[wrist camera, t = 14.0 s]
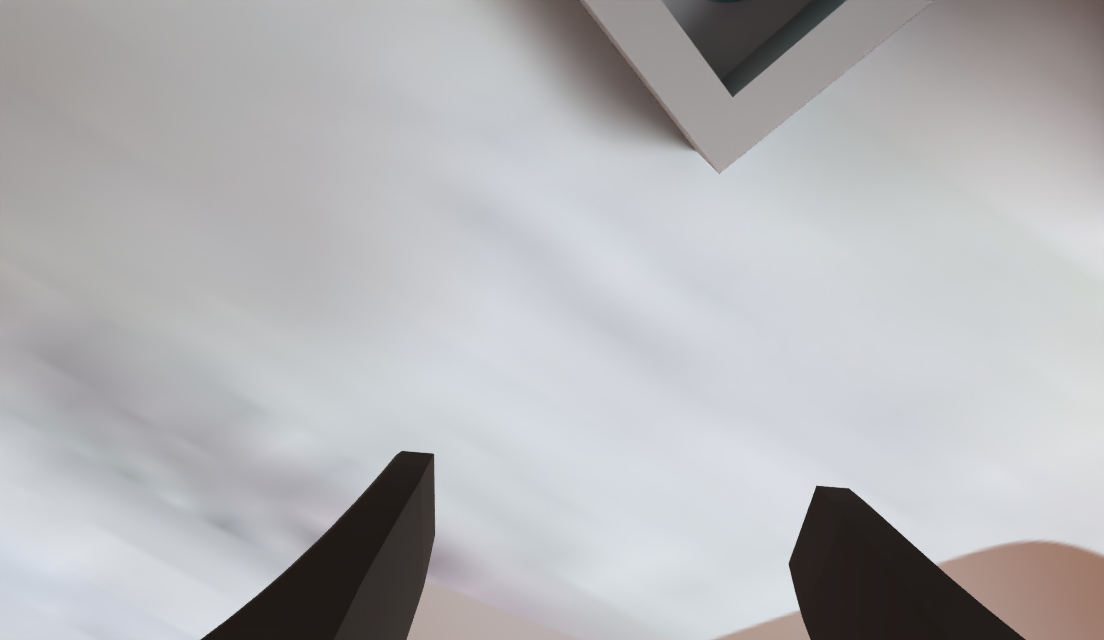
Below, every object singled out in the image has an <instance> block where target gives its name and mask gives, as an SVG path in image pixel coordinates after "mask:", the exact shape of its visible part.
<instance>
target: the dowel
mask: <svg viewBox="0 0 1104 640" xmlns="http://www.w3.org/2000/svg"><path fill="white" fill-rule="evenodd" d="M708 1H713V2H722V3H729V2H738V1H742V0H708Z"/></svg>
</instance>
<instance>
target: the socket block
mask: <svg viewBox="0 0 1104 640" xmlns="http://www.w3.org/2000/svg"><path fill="white" fill-rule="evenodd" d="M932 1H934V0H742V1H738V2H729V3H722V2H713V1H708V0H579V2H580V3H581V4H582V5H583V7H584V8H585V9H586V11H587V12H588V13H589V14H590V16H591V17H592V18H593V19H594V21H595V22H596V23H597V25H598V26H599V27H600V28H601V30H602V31H603V32H604V34H605V35H606V36H607V37H608V39H609V40H610V41H611V43H612V44H613V45H614V46H615V48H616V49H617V50H618V51H619V53H620V54H621V55H622V57H623V58H624V59H625V60H626V62H627V63H628V64H629V66H630V67H631V68H632V69H633V71H634V72H635V73H636V74H637V76H638V77H639V78H640V80H641V81H642V82H643V83H644V85H645V86H646V87H647V89H648V90H649V91H650V92H651V94H652V95H653V96H654V98H655V99H656V100H657V101H658V103H659V104H660V105H661V106H662V108H663V109H664V110H665V112H666V113H667V114H668V115H669V117H670V118H671V119H672V121H673V122H674V123H675V124H676V126H677V127H678V128H679V129H680V131H681V132H682V133H683V135H684V136H685V137H686V138H687V140H688V141H689V142H690V144H691V145H692V146H693V147H694V149H695V150H696V151H697V152H698V153H699V154H700V155H701V156H702V157H703V158H704V159H705V160H706V161H707V162H708V163H709V164H710V165H711V166H712V167H713V168H714V169H715V170H716V171H717V172H718V173H719V174H720V173H721V172H722V171H723V170H725V169H726V168H727V167H728V166H729V165H731V164H732V163H733V162H734V161H736V160H737V159H738V158H739V157H741V156H742V155H743V154H744V153H746V152H747V151H748V150H749V149H750V148H752V147H753V146H754V145H755V144H757V143H758V142H759V141H760V140H762V139H763V138H764V137H765V136H767V135H768V134H769V133H770V132H772V131H773V130H774V129H775V128H776V127H778V126H779V125H780V124H781V123H783V122H784V121H785V120H786V119H788V118H789V117H790V116H791V115H793V114H794V113H795V112H796V111H798V110H799V109H800V108H801V107H802V106H804V105H805V104H806V103H807V102H809V101H810V100H811V99H812V98H814V97H815V96H816V95H817V94H819V93H820V92H821V91H822V90H823V89H825V88H826V87H827V86H828V85H830V84H831V83H832V82H833V81H835V80H836V79H837V78H838V77H840V76H841V75H842V74H843V73H845V72H846V71H847V70H848V69H849V68H851V67H852V66H853V65H854V64H856V63H857V62H858V61H859V60H861V59H862V58H863V57H864V56H866V55H867V54H868V53H869V52H870V51H872V50H873V49H874V48H875V47H877V46H878V45H879V44H880V43H882V42H883V41H884V40H885V39H887V38H888V37H889V36H890V35H892V34H893V33H894V32H895V31H896V30H898V29H899V28H900V27H901V26H903V25H904V24H905V23H906V22H908V21H909V20H910V19H911V18H913V17H914V16H915V15H916V14H917V13H919V12H920V11H921V10H922V9H924V8H925V7H926V6H927V5H929V4H930V3H931V2H932Z"/></svg>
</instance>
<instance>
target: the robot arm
mask: <svg viewBox="0 0 1104 640" xmlns="http://www.w3.org/2000/svg"><path fill="white" fill-rule="evenodd" d="M434 537H435V494H434V454H431V453H419V452H407V451H401V452H400V453H398V454H397V455H396V456H395V457H394V458H393V459H392V461H391V462H390V463H389V464H388V465H387V467H386V468H385V469H384V470H383V471H382V473H381V474H380V475H379V476H378V477H377V478H376V479H375V481H374V482H373V483H372V484H371V485H370V486H369V487H368V488H367V490H366V491H365V492H364V493H363V494H362V495H361V496H360V497H359V498H358V500H357V501H356V502H355V503H354V504H353V505H352V506H351V507H350V508H349V509H348V510H347V511H346V512H345V513H344V514H343V515H342V516H341V517H340V518H339V520H338V521H337V522H336V523H335V524H334V525H333V526H332V527H331V528H330V529H329V530H328V531H327V532H326V533H325V534H324V535H323V536H322V537H321V538H320V539H319V540H318V541H317V542H316V543H315V544H313V545H312V546H311V547H310V548H309V549H308V550H307V551H306V552H305V553H304V554H303V555H302V556H301V557H300V558H299V559H298V560H297V561H295V562H294V563H293V564H292V565H291V566H290V567H289V568H288V569H287V570H286V571H285V572H284V573H283V574H281V575H280V576H279V577H278V578H277V579H276V580H275V581H273V582H272V583H271V584H270V585H269V586H268V587H266V588H265V589H264V590H263V591H262V592H261V593H259V594H258V595H257V596H256V597H255V598H253V599H252V600H251V601H250V602H248V603H247V604H246V605H245V606H244V607H242V608H241V609H240V610H239V611H237V612H236V613H235V614H234V615H232V616H231V617H230V618H229V619H227V620H226V621H225V622H223V623H222V624H221V625H219V626H218V627H217V628H215V629H214V630H213V631H211V632H210V633H209V634H207V635H206V636H205V637H203V638H202V639H201V640H406V639H407V636H408V633H409V630H410V627H411V624H412V621H413V618H414V615H415V612H416V609H417V606H418V603H419V600H420V597H421V594H422V590H423V587H424V583H425V579H426V574H427V570H428V565H429V561H430V556H431V551H432V546H433V542H434ZM789 568H790V572H791V576H792V580H793V584H794V588H795V592H796V596H797V600H798V603H799V607H800V611H801V614H802V618H803V621H804V623H805V626H806V629H807V631H808V634H809V636H810V639H811V640H1025V639H1024V638H1023V637H1021V636H1020V635H1019V634H1018V633H1017V632H1015V631H1014V630H1013V629H1012V628H1010V627H1009V626H1008V625H1007V624H1005V623H1004V622H1003V621H1002V620H1000V619H999V618H998V617H996V616H995V615H994V614H993V613H992V612H991V611H989V610H988V609H987V608H985V607H984V606H983V605H982V604H981V603H979V602H978V601H977V600H976V599H975V598H974V597H972V596H971V595H970V594H969V593H967V592H966V591H965V590H964V589H963V588H961V586H959V585H958V584H957V583H956V582H955V581H953V580H952V579H951V578H950V577H949V576H948V575H947V574H945V573H944V572H943V571H942V570H941V569H940V568H939V567H938V566H936V565H935V564H934V563H933V562H932V561H931V560H930V559H928V558H927V557H926V556H925V555H924V554H923V553H922V552H921V551H919V550H918V549H917V548H916V547H915V546H914V545H913V544H912V543H911V542H909V541H908V540H907V539H906V538H905V537H904V536H903V535H902V534H900V533H899V532H898V531H897V530H896V529H895V528H894V527H893V526H892V525H890V524H889V523H888V522H887V521H886V520H885V519H884V518H883V517H882V516H880V515H879V514H878V513H877V512H876V511H875V510H874V509H873V508H871V507H870V506H869V505H868V504H867V503H866V502H865V501H863V500H862V499H861V498H860V497H859V496H857V495H856V494H855V493H854V492H853V491H851V490H850V489H848V488H837V487H825V486H816V489H815V492H814V494H813V497H812V500H811V503H810V506H809V508H808V511H807V514H806V517H805V520H804V522H803V525H802V528H801V531H800V533H799V536H798V539H797V542H796V545H795V547H794V550H793V553H792V556H791V559H790V561H789Z"/></svg>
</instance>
